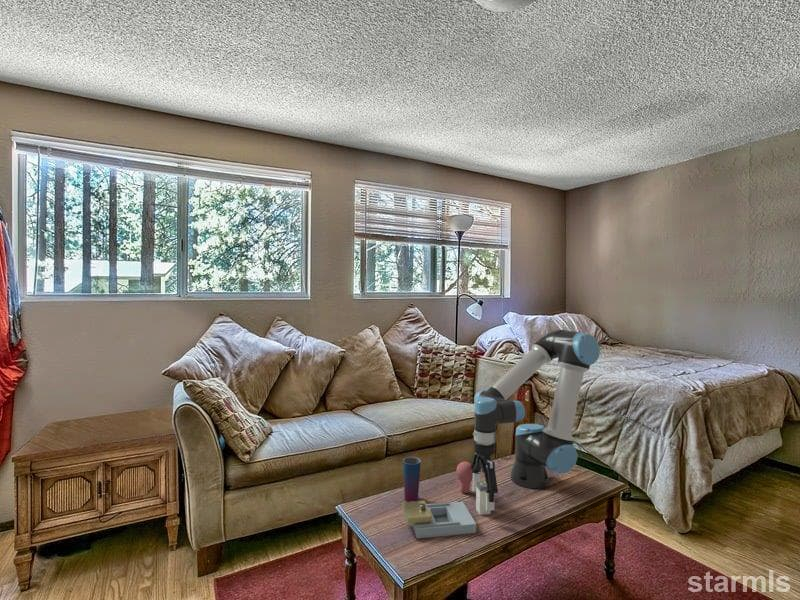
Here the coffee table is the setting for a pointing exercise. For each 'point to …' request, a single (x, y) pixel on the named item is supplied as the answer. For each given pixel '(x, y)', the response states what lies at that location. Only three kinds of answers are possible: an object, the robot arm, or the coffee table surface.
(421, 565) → the coffee table surface
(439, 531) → the socket board
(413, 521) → the panel
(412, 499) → the cup
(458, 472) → the light bulb
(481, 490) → the plug
